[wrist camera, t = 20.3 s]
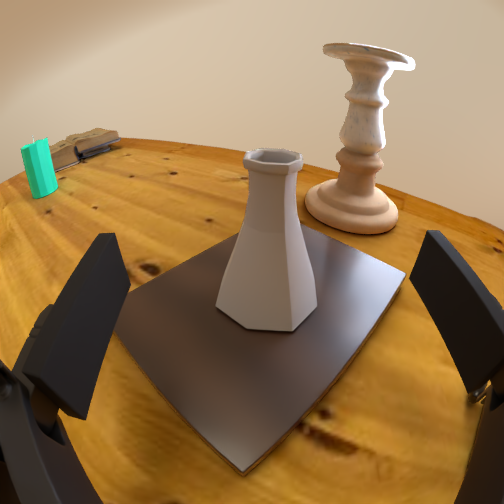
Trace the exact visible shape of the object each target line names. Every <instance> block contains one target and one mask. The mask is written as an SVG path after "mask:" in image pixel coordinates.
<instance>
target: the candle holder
mask: <svg viewBox="0 0 504 504" xmlns="http://www.w3.org/2000/svg"><path fill="white" fill-rule="evenodd" d="M323 52H324V54H326V55H328V56H330V57H334V58H338V59H343V60H344V62H345V66H346V68H347V70H348V71H349V72H350V73H351V75H352V79H353V85H352V88H351V90H350V91H348V92H347V93H346V94H345V98H346V99H347V100H349V102H350V105H349V110H348V113H347V117H346V119H345V122H344V125H343V127H342V129H341V131H340V139H341V142H342V143H343V144H344V146H345V147H344V148H342V149H341V150H340V151H339V152H337V154H336V159H337V160H338V162H339V164H340V165H341V167H340V172H339V176H338V179H331V180H328V181H325V182H324V183H322V184H318V185H316V186H314V187H312V188H311V189H309V190H308V192H307V194H306V197H305V204H306V208H307V209H308V211H309V212H310V213H311V215H313V216H314V217H315V218H316V219H318V220H319V221H321V222H323V223H325V224H327V225H329V226H332V227H334V228H337V229H340V230H344V231H348V232H352V233H360V234H377V233H382V232H386V231H388V230H390V229H391V228H393V227H394V226H395V224H396V222H397V220H398V210H397V208H396V206H395V204H394V203H393V202H392V201H391V200H390V199H389V198H387V196H386V195H385V194H384V193H383V192H382V191H381V190H380V189H378V188H376V187H375V175H376V173H377V172H378V171H379V170H380V169H382V167H383V162H382V160H381V159H380V156H379V155H378V154H377V153H378V152H379V151H380V150H382V149H383V148H384V146H385V136H384V130H383V122H382V108H383V107H385V106H387V105H388V101H387V100H386V98H385V97H384V95H383V92H382V87H383V83H384V81H385V80H386V79H388V78H389V77H390V76H391V74H392V71H393V70H394V69H403V70H411V69H413V68H414V66H415V62H414V60H413V59H411V58H409V57H407V56H405V55H403V54H400V53H397V52H394V51H391V50H387V49H383V48H378V47H373V46H367V45H359V44H350V43H331V44H326V45H324V46H323Z"/></svg>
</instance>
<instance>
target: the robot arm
mask: <svg viewBox="0 0 504 504" xmlns="http://www.w3.org/2000/svg"><path fill="white" fill-rule="evenodd" d="M409 279H410V281H411V282H412V284H413V286H414V287H415V289H416V291H417V292H418V294H419V296H420V297H421V299H422V301H423V303H424V304H425V306H426V308H427V310H428V312H429V313H430V315H431V317H432V319H433V321H434V323H435V324H436V326H437V328H438V330H439V332H440V334H441V336H442V338H443V340H444V342H445V344H446V346H447V348H448V350H449V352H450V354H451V356H452V358H453V360H454V363H455V365H456V367H457V369H458V371H459V374H460V376H461V378H462V381H463V383H464V385H465V388H466V390H467V393H468V394H469V393H472V392H474V391H476V390H478V389H480V388H481V387H482V386H484V385H485V384H486V383H487V382H488V381H489V380H490V381H491V385H490V386H489V387H488V388H486V389H485V390H484V391H483V392H482V393H481V394H480V395H479V396H478V397H477V400H476V401H477V402H478V401H480V400H481V399H482V398H483V397H484V396H485V395H486V397H485V398H484V399H483V400H482V401H481V404H484V410H483V415H482V419H481V424H480V428H479V432H478V436H477V440H476V443H475V447H474V450H473V454H472V457H471V460H470V463H469V466H468V469H467V472H466V475H465V477H464V480H463V483H462V485H461V488H460V490H459V493H458V495H457V497H456V500H455V502H454V504H504V309H503V310H502V306H501V305H500V303H499V302H498V300H497V299H496V298H495V297H494V296H493V295H492V294H491V293H490V292H489V291H488V289H487V288H486V287H485V285H484V284H483V283H482V281H481V280H480V279H479V277H478V276H477V275H476V273H475V272H474V271H473V270H472V268H471V267H470V266H469V265H468V263H467V262H466V261H465V260H464V258H463V257H462V256H461V255H460V254H459V252H458V251H457V250H456V249H455V248H454V247H453V245H452V244H451V243H450V242H449V241H448V240H447V239H446V237H445V236H444V235H443V234H442V233H441V232H440V231H438V230H427V232H426V235H425V238H424V241H423V243H422V246H421V249H420V252H419V254H418V257H417V260H416V262H415V265H414V267H413V270H412V272H411V275H410V277H409ZM130 286H131V283H130V280H129V277H128V274H127V271H126V268H125V265H124V262H123V259H122V256H121V252H120V249H119V246H118V242H117V239H116V235H115V233H100V234H98V236H97V237H96V239H95V240H94V241H93V243H92V244H91V246H90V247H89V249H88V250H87V252H86V253H85V255H84V256H83V258H82V259H81V261H80V262H79V264H78V265H77V267H76V268H75V270H74V272H73V273H72V275H71V276H70V278H69V280H68V281H67V283H66V285H65V286H64V288H63V290H62V291H61V293H60V295H59V296H58V298H57V300H56V302H55V303H54V305H53V304H49V305H48V306H47V307H46V308H45V309H44V310H43V311H42V312H41V313H40V315H39V317H38V318H37V320H36V322H35V324H34V328H32V330H31V332H30V334H29V337H28V338H27V340H26V342H25V344H24V346H23V348H22V350H21V352H20V354H19V356H18V358H17V361H16V363H15V365H14V367H13V369H12V371H10V370H9V369H8V368H7V366H6V365H5V364H4V363H3V362H2V361H1V360H0V504H103V502H102V500H101V499H100V497H99V496H98V494H97V492H96V491H95V489H94V487H93V485H92V484H91V482H90V480H89V478H88V476H87V475H86V473H85V471H84V469H83V467H82V465H81V463H80V461H79V459H78V457H77V455H76V453H75V451H74V449H73V446H72V444H71V442H70V440H69V437H68V435H67V433H66V430H65V428H64V425H63V423H62V420H61V419H60V417H59V415H58V410H59V408H60V409H61V410H62V411H63V412H64V413H66V414H67V415H68V416H71V417H75V418H78V419H82V420H86V418H87V414H88V410H89V406H90V403H91V399H92V395H93V392H94V388H95V385H96V382H97V378H98V375H99V372H100V369H101V365H102V362H103V359H104V356H105V353H106V350H107V347H108V344H109V341H110V338H111V336H112V333H113V330H114V327H115V324H116V322H117V319H118V316H119V314H120V311H121V309H122V306H123V303H124V301H125V298H126V296H127V293H128V291H129V288H130Z"/></svg>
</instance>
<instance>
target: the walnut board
mask: <svg viewBox="0 0 504 504" xmlns="http://www.w3.org/2000/svg"><path fill="white" fill-rule="evenodd" d="M300 226H301V230H302V234H303V238H304V242H305V246H306V250H307V253H308V257H309V260H310V264H311V267H312V271H313V275H314V280H315V289H316V299H317V307H316V308H315V309H314V310H313V311H312V312H311V313H310V314H309V315H308V316H307V317H306V318H305V319H304V320H303V321H302V322H301V323H300V324H299V325H298V326H297V327H296V328H295V329H294V330H293V331H276V330H260V329H247V328H245V327H244V326H242V325H241V324H239V323H238V322H237V321H235V320H234V319H233V318H231V317H230V316H228V315H227V314H226V313H224V312H223V311H222V310H220V309H219V308H218V307H216V302H217V298H218V294H219V290H220V286H221V282H222V279H223V276H224V273H225V270H226V267H227V265H228V262H229V259H230V257H231V254H232V252H233V249H234V247H235V244H236V241H237V238H238V235H239V233H237V234H235V235H233V236H231V237H229V238H228V239H226V240H224V241H222V242H220V243H218V244H216V245H214V246H213V247H211V248H209V249H207V250H205V251H203V252H201V253H200V254H198V255H196V256H194V257H192V258H190V259H189V260H187V261H185V262H183V263H181V264H179V265H178V266H176V267H174V268H172V269H170V270H169V271H167V272H165V273H163V274H161V275H160V276H158V277H156V278H154V279H152V280H151V281H149V282H147V283H145V284H143V285H142V286H140V287H138V288H136V289H135V290H133V291H131V292H129V293H127V296H126V298H125V301H124V303H123V306H122V309H121V311H120V314H119V316H118V319H117V322H116V324H115V327H114V330H113V333H114V334H115V336H116V337H117V339H118V340H119V341H120V343H121V344H122V346H123V347H124V349H125V350H126V351H127V353H128V354H129V356H130V357H131V358H132V360H133V361H134V362H135V364H136V365H137V366H138V368H139V369H140V370H141V371H142V373H143V374H144V375H145V377H146V378H147V379H148V380H149V382H150V383H151V384H152V385H153V386H154V388H155V389H156V390H157V391H158V393H159V394H160V395H161V396H162V397H163V398H164V400H165V401H166V402H167V403H168V404H169V405H170V406H171V408H172V409H173V410H174V411H175V412H176V413H177V414H178V415H179V416H180V417H181V419H182V420H183V421H184V422H185V423H186V424H187V425H188V426H189V427H190V428H191V429H192V430H193V431H194V432H195V433H196V434H197V435H198V436H199V437H200V438H201V439H202V440H203V441H204V442H205V443H206V444H207V445H208V446H209V447H210V448H211V449H212V450H213V451H214V452H215V453H216V454H218V455H219V456H220V457H221V458H222V459H223V460H224V461H225V462H226V463H228V464H229V465H230V466H231V467H232V468H233V469H234V470H236V471H237V472H238V473H239V474H240V475H242V476H243V477H244V476H245V475H247V474H248V473H249V472H250V471H251V470H252V469H253V468H255V467H256V466H257V465H258V464H259V463H260V462H261V461H262V460H263V459H264V458H266V457H267V456H268V455H269V454H270V453H271V452H272V451H273V450H274V449H275V448H276V447H277V446H278V445H279V444H280V443H281V442H282V441H283V440H284V439H285V438H286V437H287V436H288V435H289V434H290V433H291V432H292V431H293V430H294V429H295V428H296V427H297V426H298V425H299V424H300V423H301V421H302V420H303V419H304V418H305V417H306V416H307V415H308V414H309V413H310V412H311V411H312V409H313V408H314V407H315V406H316V405H317V404H318V403H319V401H320V400H321V399H322V398H323V397H324V396H325V394H326V393H327V392H328V391H329V390H330V388H331V387H332V386H333V385H334V383H335V382H336V381H337V380H338V378H339V377H340V376H341V375H342V373H343V372H344V371H345V370H346V368H347V367H348V366H349V364H350V363H351V362H352V360H353V359H354V358H355V356H356V355H357V354H358V352H359V351H360V349H361V348H362V347H363V345H364V344H365V342H366V341H367V340H368V338H369V337H370V335H371V334H372V332H373V331H374V329H375V328H376V326H377V325H378V323H379V322H380V320H381V319H382V317H383V316H384V314H385V313H386V311H387V309H388V308H389V306H390V305H391V303H392V301H393V300H394V298H395V297H396V295H397V293H398V292H399V290H400V288H401V286H402V284H403V282H404V279H405V277H406V273H404V272H402V271H400V270H398V269H396V268H394V267H392V266H390V265H388V264H386V263H384V262H382V261H380V260H378V259H376V258H374V257H371V256H369V255H367V254H365V253H363V252H361V251H359V250H357V249H355V248H353V247H350V246H348V245H346V244H344V243H342V242H340V241H338V240H335V239H333V238H331V237H329V236H327V235H325V234H322V233H320V232H318V231H316V230H314V229H311V228H309V227H307V226H305V225H302V224H300Z"/></svg>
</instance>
